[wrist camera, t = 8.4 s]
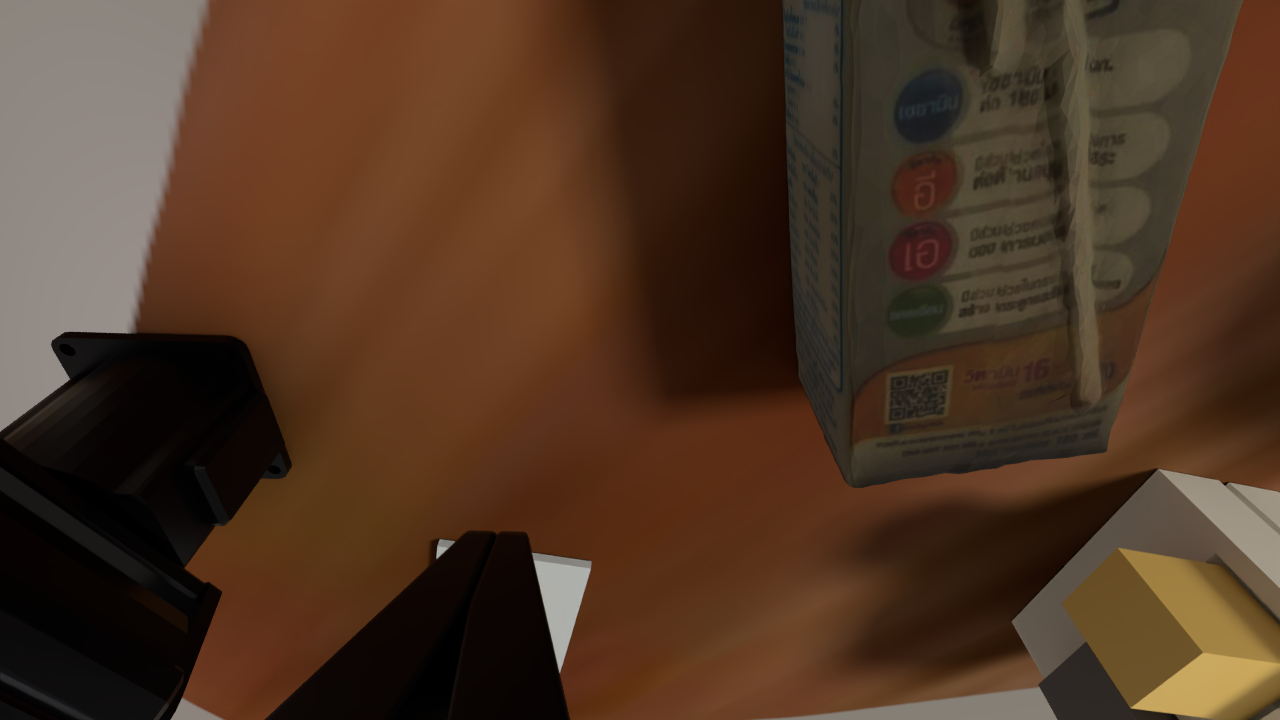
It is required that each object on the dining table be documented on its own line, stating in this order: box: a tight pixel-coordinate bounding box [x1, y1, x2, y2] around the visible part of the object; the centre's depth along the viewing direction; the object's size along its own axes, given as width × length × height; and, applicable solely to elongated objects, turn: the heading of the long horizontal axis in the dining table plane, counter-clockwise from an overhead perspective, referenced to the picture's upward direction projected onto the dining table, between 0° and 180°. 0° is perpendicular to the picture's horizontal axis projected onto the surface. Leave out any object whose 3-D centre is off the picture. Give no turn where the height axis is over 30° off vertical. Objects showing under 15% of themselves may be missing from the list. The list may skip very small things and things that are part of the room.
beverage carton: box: [782, 0, 1243, 488], centre depth 15 cm, size 8×19×7 cm, turn 10°
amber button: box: [1061, 548, 1280, 720], centre depth 22 cm, size 4×3×4 cm
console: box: [1011, 469, 1280, 720], centre depth 25 cm, size 6×11×10 cm, turn 167°
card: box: [436, 539, 591, 673], centre depth 30 cm, size 7×10×1 cm
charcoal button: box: [1038, 642, 1179, 720], centre depth 25 cm, size 4×3×4 cm
